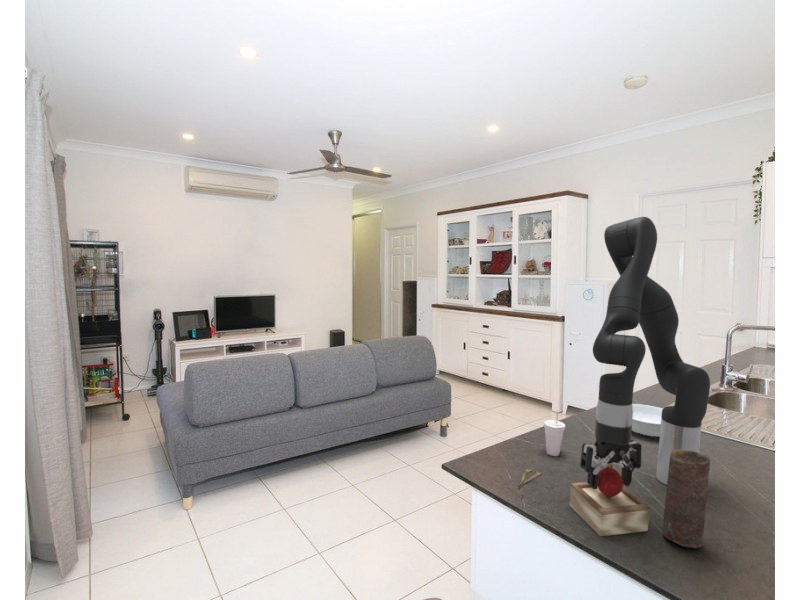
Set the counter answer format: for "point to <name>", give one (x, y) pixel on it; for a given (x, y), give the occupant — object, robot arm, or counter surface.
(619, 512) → the pedestal
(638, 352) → the robot arm
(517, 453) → the counter surface
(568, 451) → the counter surface
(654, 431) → the serving bowl
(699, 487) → the rusty metal cylinder
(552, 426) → the smoothie
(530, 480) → the tongs
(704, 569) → the counter surface
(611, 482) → the pomegranate
